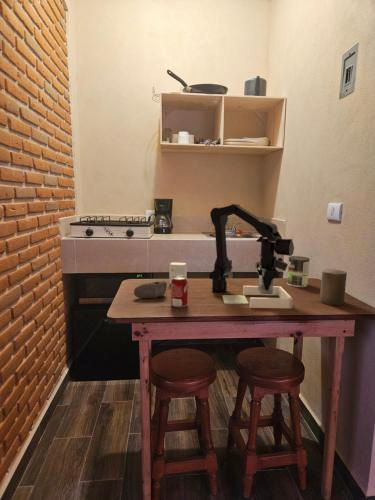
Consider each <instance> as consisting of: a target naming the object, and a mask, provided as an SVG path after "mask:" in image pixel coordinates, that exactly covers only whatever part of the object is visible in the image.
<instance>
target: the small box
mask: <svg viewBox="0 0 375 500" xmlns="http://www.w3.org/2000/svg"><path fill="white" fill-rule="evenodd" d="M168 265H169V270H168V272H169V275H168V277H169V278H168V279H169V285H171V281H172V280H173V277H174V276H185V277H186V280H187V275H188V274H187V262H176V261H175V262H171V263H169V264H168ZM187 281H188V280H187Z"/></svg>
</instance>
